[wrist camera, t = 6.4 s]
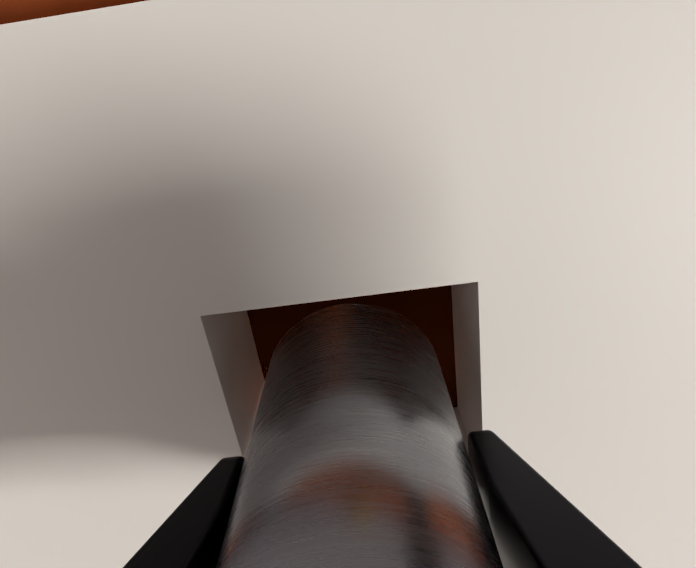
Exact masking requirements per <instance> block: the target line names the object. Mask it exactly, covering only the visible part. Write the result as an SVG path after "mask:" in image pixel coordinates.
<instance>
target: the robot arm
mask: <svg viewBox="0 0 696 568" xmlns="http://www.w3.org/2000/svg"><path fill="white" fill-rule="evenodd" d="M468 454H469V460H470V463H471V466H472V469H473V472H474V476H475V479H476V482H477V485H478V488H479V492H480V495H481V498H482V501H483V504H484V508H485V511H486V514H487V517H488V520H489V523H490V527H491V530H492V533H493V536H494V539H495V543H496V546H497V549H498V552H499V555H500V559H501V562H502V565H503V568H642V567H641V566H640V565H639V564H638V563H637V562H636V561H634V560H633V559H632V558H631V557H630V556H629V555H628V554H627V553H626V552H625V551H623V550H622V549H621V548H620V547H619V546H618V545H617V544H616V543H615V542H614V541H612V540H611V539H610V538H609V537H608V536H607V535H606V534H605V533H604V532H603V531H601V530H600V529H599V528H598V527H597V526H596V525H595V524H594V523H593V522H592V521H591V520H589V519H588V518H587V517H586V516H585V515H584V514H583V513H582V512H581V511H580V510H578V509H577V508H576V507H575V506H574V505H573V504H572V503H571V502H570V501H569V500H567V499H566V498H565V497H564V496H563V495H562V494H561V493H560V492H559V491H558V490H556V489H555V488H554V487H553V486H552V485H551V484H550V483H549V482H548V481H547V480H545V479H544V478H543V477H542V476H541V475H540V474H539V473H538V472H537V471H536V470H534V469H533V468H532V467H531V466H530V465H529V464H528V463H527V462H526V461H525V460H524V459H522V458H521V457H520V456H519V455H518V454H517V453H516V452H515V451H514V450H513V449H511V448H510V447H509V446H508V445H507V444H506V443H505V442H504V441H503V440H502V439H500V438H499V437H498V436H497V435H496V434H495V433H494V432H493V431H491V430H481V431H472V432H470V433H469V434H468ZM244 459H245V458H244V457H243V456H235V457H225V458H223V459H221V460H220V461H219V462H218V463H217V464H216V465H215V466H214V467H213V469H212V470H211V471H210V472H209V473H208V474H207V475H206V476H205V477H204V478H203V480H202V481H201V482H200V483H199V484H198V485H197V486H196V487H195V488H194V489H193V491H192V492H191V493H190V494H189V495H188V496H187V497H186V498H185V499H184V500H183V502H182V503H181V504H180V505H179V506H178V507H177V508H176V509H175V510H174V511H173V513H172V514H171V515H170V516H169V517H168V518H167V519H166V520H165V521H164V523H163V524H162V525H161V526H160V527H159V528H158V529H157V530H156V531H155V532H154V534H153V535H152V536H151V537H150V538H149V539H148V540H147V541H146V542H145V543H144V545H143V546H142V547H141V548H140V549H139V550H138V551H137V552H136V553H135V554H134V556H133V557H132V558H131V559H130V560H129V561H128V562H127V563H126V564H125V565H124V567H123V568H216V566H217V562H218V558H219V555H220V551H221V547H222V543H223V539H224V536H225V532H226V528H227V524H228V520H229V516H230V513H231V509H232V505H233V501H234V497H235V494H236V490H237V486H238V482H239V478H240V474H241V471H242V467H243V463H244Z"/></svg>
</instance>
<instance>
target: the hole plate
mask: <svg viewBox="0 0 696 568" xmlns="http://www.w3.org/2000/svg"><path fill="white" fill-rule="evenodd" d="M447 285H451V295H452V314H453V332H454V350H455V369H456V387H457V405H458V407H453V409H454V412H455V415H456V418H457V421H458V425H459V428H460V431H461V434H462V437H463V441H464V444H465V447H466V450H467V453H468V434H469V433H470V432H472V431H481V430H491V431H493V432H494V433H495V434H496V435H497V436H498V437H499V438H500V439H502V440H503V441H504V442H505V443H506V444H507V445H508V446H509V447H510V448H511V449H513V450H514V451H515V452H516V453H517V454H518V455H519V456H520V457H521V458H522V459H524V460H525V461H526V462H527V463H528V464H529V465H530V466H531V467H532V468H533V469H534V470H536V471H537V472H538V473H539V474H540V475H541V476H542V477H543V478H544V479H545V480H547V481H548V482H549V483H550V484H551V485H552V486H553V487H554V488H555V489H556V490H558V491H559V492H560V493H561V494H562V495H563V496H564V497H565V498H566V499H567V500H569V501H570V502H571V503H572V504H573V505H574V506H575V507H576V508H577V509H578V510H580V511H581V512H582V513H583V514H584V515H585V516H586V517H587V518H588V519H589V520H591V521H592V522H593V523H594V524H595V525H596V526H597V527H598V528H599V529H600V530H601V531H603V532H604V533H605V534H606V535H607V536H608V537H609V538H610V539H611V540H612V541H614V542H615V543H616V544H617V545H618V546H619V547H620V548H621V549H622V550H623V551H625V552H626V553H627V554H628V555H629V556H630V557H631V558H632V559H633V560H634V561H636V562H637V563H638V564H639V565H640V566H641V567H642V568H696V0H147V1H141V2H135V3H129V4H123V5H117V6H111V7H105V8H99V9H93V10H87V11H81V12H74V13H68V14H62V15H56V16H50V17H44V18H38V19H32V20H26V21H20V22H14V23H8V24H1V25H0V568H123V567H124V565H125V564H126V563H127V562H128V561H129V560H130V559H131V558H132V557H133V556H134V554H135V553H136V552H137V551H138V550H139V549H140V548H141V547H142V546H143V545H144V543H145V542H146V541H147V540H148V539H149V538H150V537H151V536H152V535H153V534H154V532H155V531H156V530H157V529H158V528H159V527H160V526H161V525H162V524H163V523H164V521H165V520H166V519H167V518H168V517H169V516H170V515H171V514H172V513H173V511H174V510H175V509H176V508H177V507H178V506H179V505H180V504H181V503H182V502H183V500H184V499H185V498H186V497H187V496H188V495H189V494H190V493H191V492H192V491H193V489H194V488H195V487H196V486H197V485H198V484H199V483H200V482H201V481H202V480H203V478H204V477H205V476H206V475H207V474H208V473H209V472H210V471H211V470H212V469H213V467H214V466H215V465H216V464H217V463H218V462H219V461H220V460H221V459H223V458H225V457H235V456H243V457H244V458H245V455H246V452H247V448H248V444H249V440H250V436H251V432H252V429H253V425H254V421H255V417H256V413H257V410H258V406H259V402H260V398H261V394H262V390H263V387H264V383H265V380H264V376H263V373H262V369H261V365H260V361H259V357H258V353H257V349H256V345H255V341H254V337H253V333H252V329H251V325H250V321H249V317H248V313H247V310H254V309H262V308H270V307H278V306H286V305H294V304H302V303H310V302H318V301H326V300H334V299H343V298H351V297H359V296H367V295H375V294H383V293H391V292H399V291H407V290H415V289H423V288H431V287H439V286H447ZM468 457H469V454H468Z"/></svg>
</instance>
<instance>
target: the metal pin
mask: <svg viewBox="0 0 696 568" xmlns="http://www.w3.org/2000/svg"><path fill="white" fill-rule="evenodd" d="M216 568H503V565H502V562H501V559H500V555H499V552H498V549H497V546H496V543H495V539H494V536H493V533H492V530H491V527H490V523H489V520H488V517H487V514H486V511H485V508H484V504H483V501H482V498H481V495H480V492H479V488H478V485H477V482H476V479H475V476H474V472H473V469H472V466H471V463H470V460H469V457H468V453H467V450H466V447H465V444H464V441H463V437H462V434H461V431H460V428H459V425H458V421H457V418H456V415H455V412H454V409H453V406H452V402H451V399H450V396H449V393H448V390H447V386H446V383H445V380H444V377H443V374H442V370H441V367H440V364H439V361H438V358H437V355H436V351H435V349H434V347H433V345H432V343H431V342H430V340H429V339H428V338H427V336H426V335H425V334H424V332H423V331H422V330H421V329H420V328H419V327H418V326H417V325H415V324H414V323H413V322H412V321H410V320H409V319H407V318H406V317H404V316H402V315H401V314H398V313H396V312H394V311H392V310H389V309H386V308H383V307H379V306H375V305H369V304H355V303H353V304H341V305H335V306H330V307H327V308H324V309H320V310H318V311H316V312H313V313H311V314H309V315H307V316H306V317H304V318H302V319H301V320H299V321H298V322H297V323H295V324H294V325H293V326H292V327H290V328H289V330H288V331H287V332H286V333H285V334H284V335H283V336H282V338H281V339H280V341H279V342H278V343H277V345H276V347H275V349H274V351H273V354H272V357H271V360H270V364H269V368H268V371H267V375H266V379H265V383H264V387H263V390H262V394H261V398H260V402H259V406H258V410H257V413H256V417H255V421H254V425H253V429H252V432H251V436H250V440H249V444H248V448H247V452H246V455H245V459H244V463H243V467H242V471H241V474H240V478H239V482H238V486H237V490H236V494H235V497H234V501H233V505H232V509H231V513H230V516H229V520H228V524H227V528H226V532H225V536H224V539H223V543H222V547H221V551H220V555H219V558H218V562H217V566H216Z"/></svg>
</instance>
